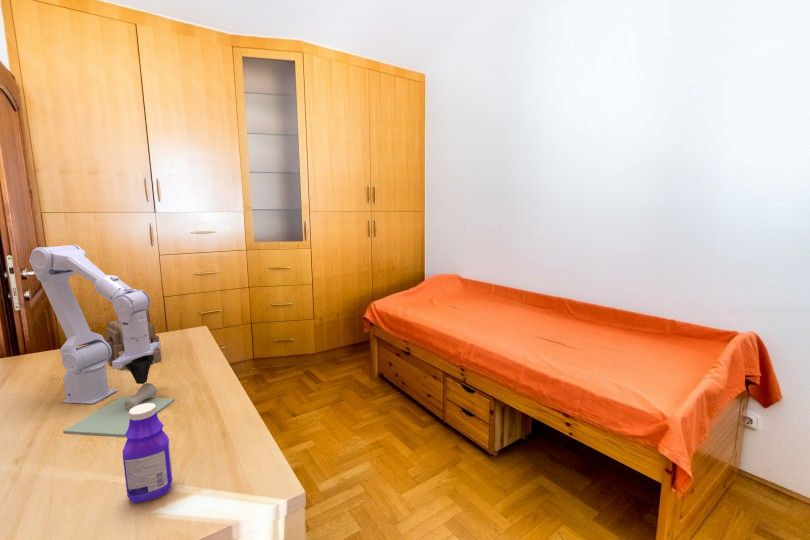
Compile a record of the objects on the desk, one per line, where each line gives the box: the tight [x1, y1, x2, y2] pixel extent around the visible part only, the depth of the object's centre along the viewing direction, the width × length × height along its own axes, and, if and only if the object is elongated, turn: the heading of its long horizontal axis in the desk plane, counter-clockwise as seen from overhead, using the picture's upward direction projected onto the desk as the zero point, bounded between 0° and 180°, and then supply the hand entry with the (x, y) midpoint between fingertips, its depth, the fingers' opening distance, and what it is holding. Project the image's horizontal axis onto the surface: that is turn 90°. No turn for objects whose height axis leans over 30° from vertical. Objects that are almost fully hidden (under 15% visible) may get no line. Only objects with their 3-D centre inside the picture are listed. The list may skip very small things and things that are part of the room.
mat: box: [62, 396, 176, 438], centre depth 98 cm, size 16×17×1 cm
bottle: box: [122, 403, 174, 504], centre depth 70 cm, size 7×6×17 cm
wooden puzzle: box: [104, 308, 162, 371], centre depth 135 cm, size 22×15×19 cm, turn 53°
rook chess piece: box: [124, 382, 158, 410], centre depth 103 cm, size 4×4×8 cm
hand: (141, 382), depth 104 cm, fingers closed
